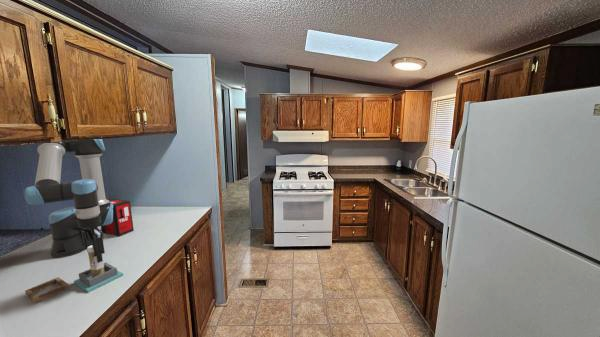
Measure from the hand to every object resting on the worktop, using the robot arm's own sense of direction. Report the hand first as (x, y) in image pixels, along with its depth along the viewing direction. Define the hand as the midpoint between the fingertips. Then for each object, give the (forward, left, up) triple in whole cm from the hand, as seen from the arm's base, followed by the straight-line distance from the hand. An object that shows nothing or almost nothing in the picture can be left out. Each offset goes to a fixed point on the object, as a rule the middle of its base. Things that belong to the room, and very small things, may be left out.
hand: (97, 266), depth 106 cm
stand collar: (-9, -14, -6) cm, 18 cm away
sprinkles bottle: (0, 0, -4) cm, 4 cm away
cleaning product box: (-48, +30, -6) cm, 57 cm away
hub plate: (0, 0, -6) cm, 6 cm away
